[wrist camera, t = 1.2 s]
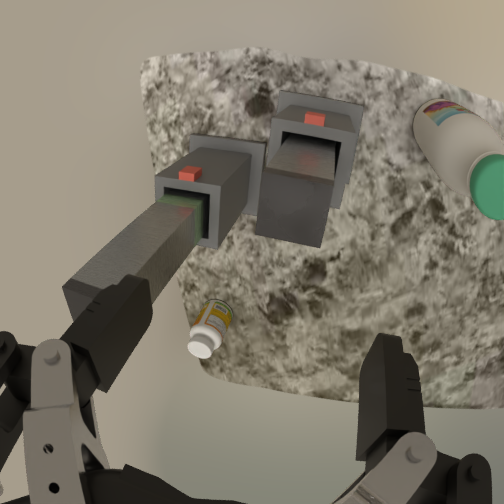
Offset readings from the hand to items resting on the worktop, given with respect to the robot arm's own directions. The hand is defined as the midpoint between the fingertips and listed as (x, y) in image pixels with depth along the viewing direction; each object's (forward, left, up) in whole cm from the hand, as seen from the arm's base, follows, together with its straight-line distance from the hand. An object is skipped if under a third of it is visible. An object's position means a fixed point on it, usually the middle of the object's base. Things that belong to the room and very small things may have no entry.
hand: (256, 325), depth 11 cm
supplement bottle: (+11, +32, -33) cm, 47 cm away
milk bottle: (-15, -5, -32) cm, 36 cm away
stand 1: (+11, +7, -32) cm, 35 cm away
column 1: (+11, +7, -25) cm, 28 cm away
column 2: (0, 0, -31) cm, 31 cm away
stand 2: (0, 0, -32) cm, 32 cm away
